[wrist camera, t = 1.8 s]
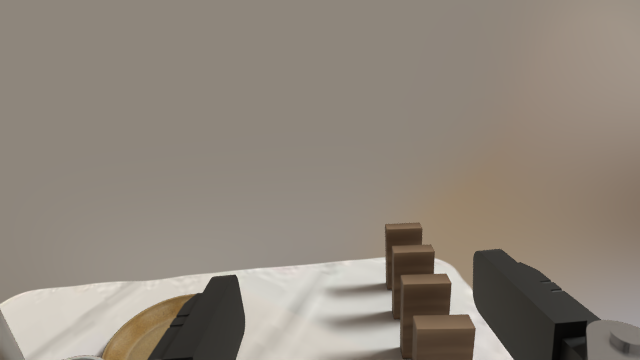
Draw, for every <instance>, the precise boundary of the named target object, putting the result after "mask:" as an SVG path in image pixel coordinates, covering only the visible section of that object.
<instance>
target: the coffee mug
mask: <svg viewBox="0 0 640 360" xmlns="http://www.w3.org/2000/svg"><path fill="white" fill-rule="evenodd" d="M63 360H103V359H102V358H100V357H96V356H90V355H83V356H75V357H71V358H67V359H63Z"/></svg>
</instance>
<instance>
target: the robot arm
mask: <svg viewBox="0 0 640 360" xmlns="http://www.w3.org/2000/svg"><path fill="white" fill-rule="evenodd" d="M473 298H474V302H475V305H476V308H477V310H478V312H479V313H480V315H481V316H482V317H483V319H484V320H485V321H486V323H487V324H488V325H489V327H490V328H491V329H492V331H493V332H494V333H495V335H496V336H497V337H498V339H499V340H500V341H501V343H502V344H503V345H504V347H505V348H506V349H507V351H508V352H509V354H510V355H511V356H512V358H513V359H514V360H640V328H638V327H636V326H633V325H630V324H626V323H623V322H618V321H611V320H601V319H599V318H598V317H597V316H596V315H594V314H593V313H592V312H590V311H589V310H588V309H587V308H585V307H584V306H583V305H582V304H580V303H579V302H578V301H577V300H575V299H574V298H573V297H571V296H570V295H569V294H568V293H566V292H565V291H562V289H561V288H560V287H559V286H557V285H556V284H555V283H554V282H551V280H550V279H548V278H547V277H546V276H544V275H543V274H542V273H541V272H540V271H538V270H536V269H534V268H532V267H530V266H528V265H525V264H523V263H521V262H520V263H517V262H516V261H515V260H514V259H513V258H511V257H510V256H509V255H507V253H505V252H504V251H503V250H501V249H494V250H483V251H476V252H475V254H474V258H473ZM244 331H245V314H244V308H243V303H242V298H241V293H240V287H239V282H238V278H237V276H236V275H227V276H216V277H212V278H211V280H210V281H209V283H208V285H207V286H206V288H205V290H204V291H203V293H197V294H195V295H194V296H193V297H192V298H190V299H189V300H188V301H187V302H186V303H184V304H183V306H182V308H181V309H180V311H179V312H178V314H177V315H176V318H174V320H173V321H172V323H171V324H170V328H168V329H167V330H166V332H165V333H164V335H163V336H162V338H161V339H160V341H159V342H158V344H157V345H156V347H155V348H154V350H153V351H152V353H151V354H150V356H149V357H148V359H147V360H236V357H237V354H238V351H239V348H240V345H241V341H242V338H243V335H244ZM0 360H25V359H24V356H23V354H22V352H21V350H20V348H19V346H18V344H17V342H16V340H15V338H14V336H13V334H12V332H11V330H10V328H9V326H8V324H7V322H6V320H5V318H4V316H3V314H2V312H1V310H0Z"/></svg>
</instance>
